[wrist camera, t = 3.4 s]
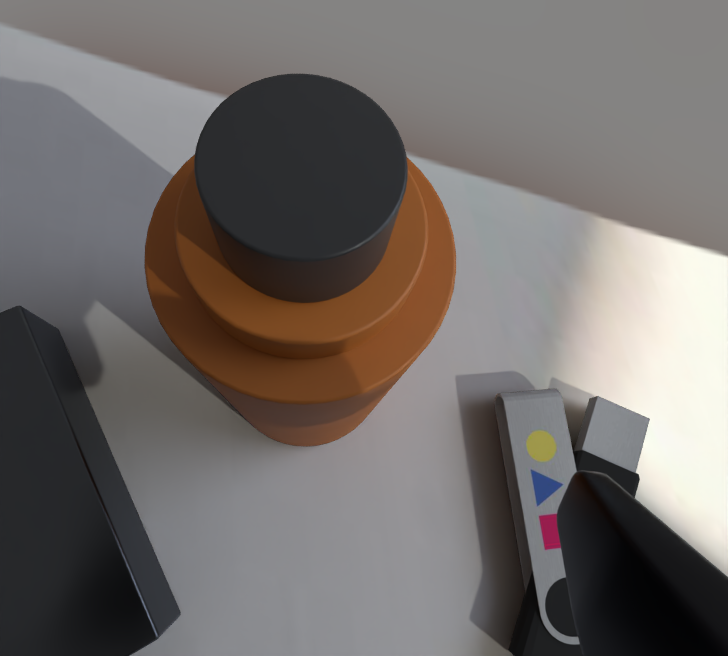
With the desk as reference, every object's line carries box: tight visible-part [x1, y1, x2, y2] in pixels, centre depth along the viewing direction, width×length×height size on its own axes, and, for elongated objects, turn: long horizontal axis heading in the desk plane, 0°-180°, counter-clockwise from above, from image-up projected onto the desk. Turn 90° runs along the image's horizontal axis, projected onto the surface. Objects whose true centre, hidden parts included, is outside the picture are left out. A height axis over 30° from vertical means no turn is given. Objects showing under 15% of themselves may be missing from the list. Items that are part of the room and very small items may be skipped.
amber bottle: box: [145, 74, 456, 446], centre depth 13 cm, size 5×5×13 cm
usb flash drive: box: [495, 389, 650, 656], centre depth 18 cm, size 9×5×1 cm, turn 157°
